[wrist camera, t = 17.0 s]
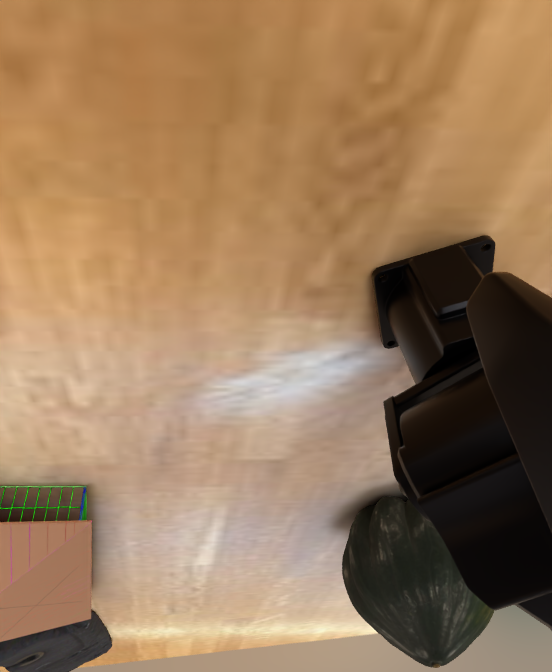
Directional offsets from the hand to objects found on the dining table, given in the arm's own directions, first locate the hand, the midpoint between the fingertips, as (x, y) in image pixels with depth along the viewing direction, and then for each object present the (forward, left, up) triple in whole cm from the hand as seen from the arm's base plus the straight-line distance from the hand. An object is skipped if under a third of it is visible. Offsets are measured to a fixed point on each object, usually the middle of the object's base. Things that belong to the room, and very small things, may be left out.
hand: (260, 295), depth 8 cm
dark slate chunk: (-60, +47, -13) cm, 77 cm away
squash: (-46, -4, -13) cm, 48 cm away
